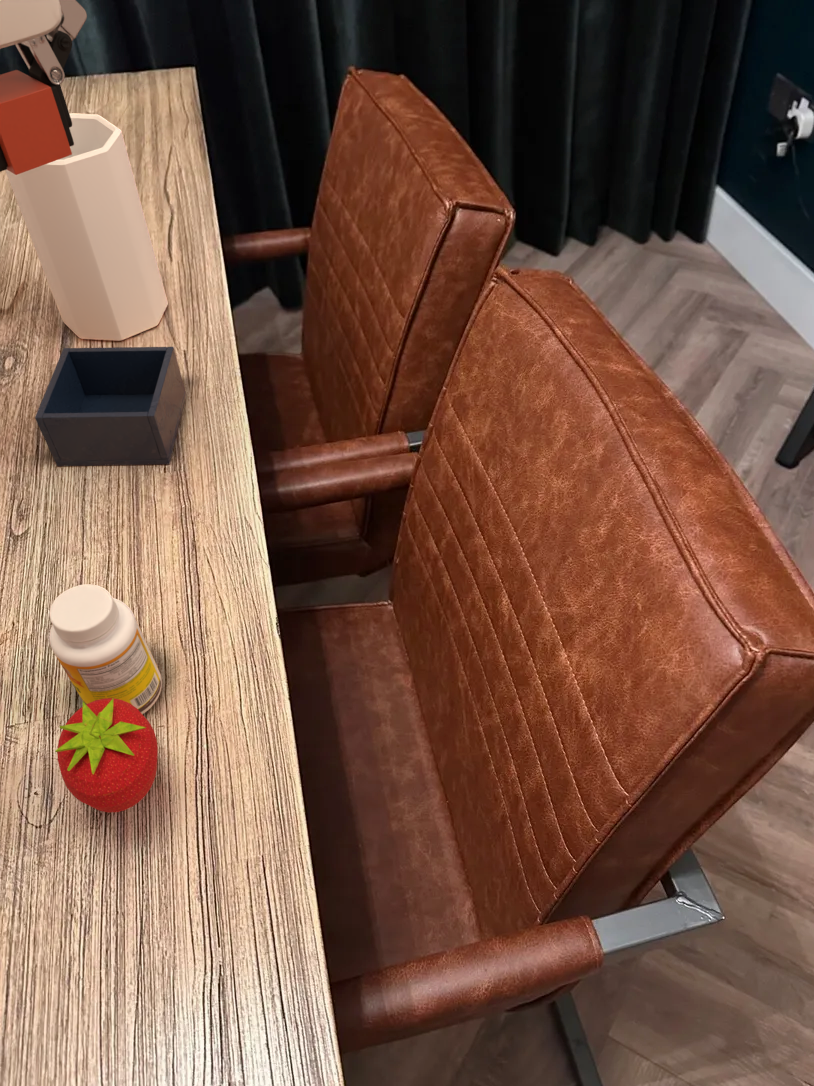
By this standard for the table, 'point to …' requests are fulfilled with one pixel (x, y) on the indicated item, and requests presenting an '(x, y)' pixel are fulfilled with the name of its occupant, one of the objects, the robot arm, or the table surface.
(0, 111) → the red block
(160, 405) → the navy tray box
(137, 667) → the supplement bottle
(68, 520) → the table surface
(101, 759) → the strawberry
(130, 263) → the cup
